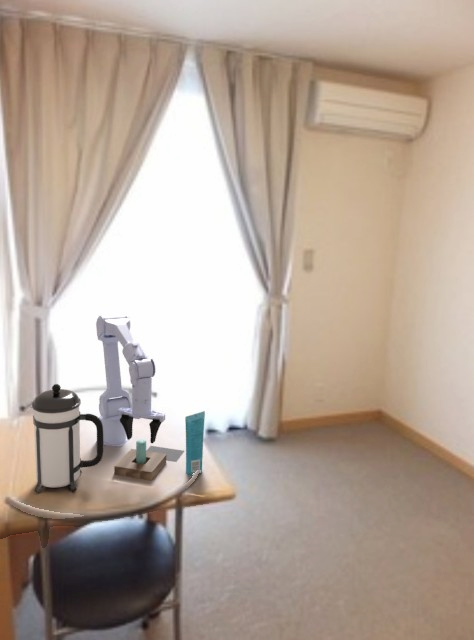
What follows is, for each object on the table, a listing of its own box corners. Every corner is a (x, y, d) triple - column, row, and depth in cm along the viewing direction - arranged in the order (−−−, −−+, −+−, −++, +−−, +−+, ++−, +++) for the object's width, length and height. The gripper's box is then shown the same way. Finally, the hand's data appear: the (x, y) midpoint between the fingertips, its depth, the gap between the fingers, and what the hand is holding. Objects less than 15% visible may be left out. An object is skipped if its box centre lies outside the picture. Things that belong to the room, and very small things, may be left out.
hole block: (114, 475, 152) (114, 466, 151) (131, 457, 163) (131, 448, 163) (151, 481, 149) (151, 472, 149) (166, 462, 161) (166, 454, 160)
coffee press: (50, 504, 135) (47, 398, 129) (21, 482, 145) (16, 383, 139) (105, 481, 148) (104, 384, 142) (75, 462, 158) (73, 370, 152)
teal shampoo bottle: (196, 465, 160) (198, 408, 156) (207, 471, 157) (210, 412, 153) (179, 474, 154) (181, 414, 151) (190, 479, 151) (192, 419, 148)
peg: (134, 470, 155) (134, 443, 154) (138, 465, 158) (138, 439, 156) (143, 472, 155) (143, 444, 153) (147, 467, 157) (147, 440, 156)
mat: (141, 457, 164) (141, 456, 164) (150, 446, 171) (150, 445, 171) (176, 462, 161) (176, 461, 161) (184, 451, 169) (184, 450, 169)
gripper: (113, 399, 149) (113, 442, 152) (159, 405, 146) (158, 449, 149) (123, 391, 156) (123, 432, 159) (168, 397, 153) (167, 439, 156)
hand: (141, 440), depth 154 cm, fingers open, 7 cm apart
